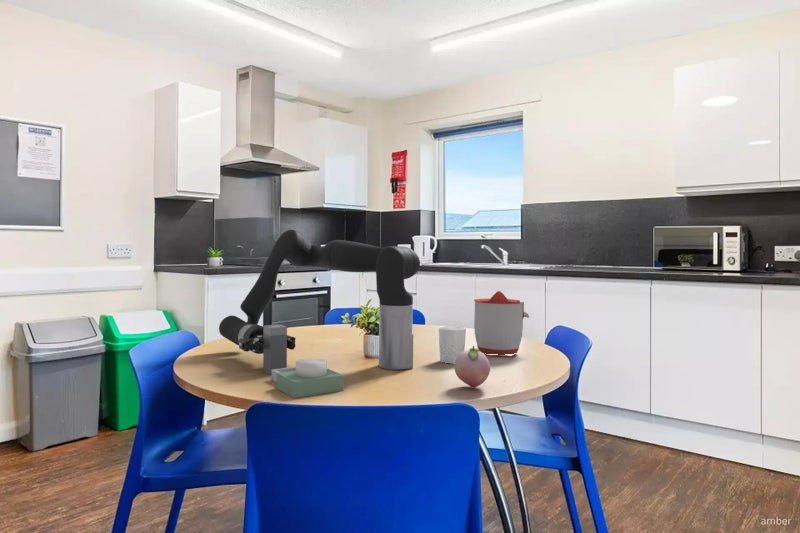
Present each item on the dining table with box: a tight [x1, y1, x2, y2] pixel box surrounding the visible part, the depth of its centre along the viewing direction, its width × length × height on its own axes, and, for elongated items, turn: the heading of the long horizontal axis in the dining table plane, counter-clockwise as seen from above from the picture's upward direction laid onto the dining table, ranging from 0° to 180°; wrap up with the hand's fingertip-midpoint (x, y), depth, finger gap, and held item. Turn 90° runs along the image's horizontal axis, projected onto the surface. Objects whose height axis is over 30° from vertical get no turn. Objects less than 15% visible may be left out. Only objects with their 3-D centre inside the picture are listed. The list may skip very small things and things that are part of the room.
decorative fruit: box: [453, 345, 491, 388], centre depth 125 cm, size 9×8×10 cm
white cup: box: [438, 325, 467, 364], centre depth 155 cm, size 8×8×10 cm
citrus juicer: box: [473, 290, 530, 355], centre depth 168 cm, size 16×17×20 cm
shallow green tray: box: [270, 357, 345, 399], centre depth 125 cm, size 18×12×6 cm, turn 35°
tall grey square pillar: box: [262, 324, 288, 376], centre depth 138 cm, size 5×4×12 cm
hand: (278, 347), depth 137 cm, fingers open, 8 cm apart
